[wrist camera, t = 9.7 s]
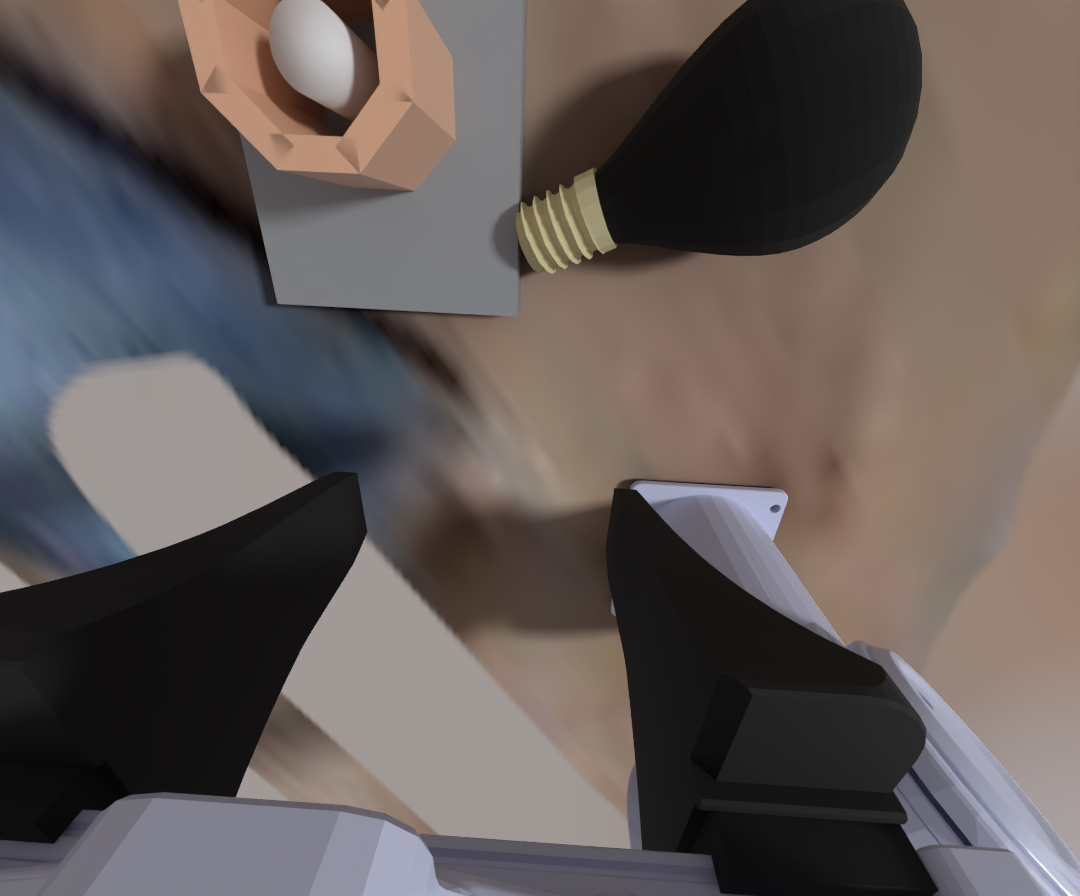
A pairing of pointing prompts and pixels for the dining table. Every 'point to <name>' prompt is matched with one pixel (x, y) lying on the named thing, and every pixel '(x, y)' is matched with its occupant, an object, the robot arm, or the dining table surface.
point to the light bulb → (750, 139)
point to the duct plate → (398, 215)
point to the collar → (297, 121)
